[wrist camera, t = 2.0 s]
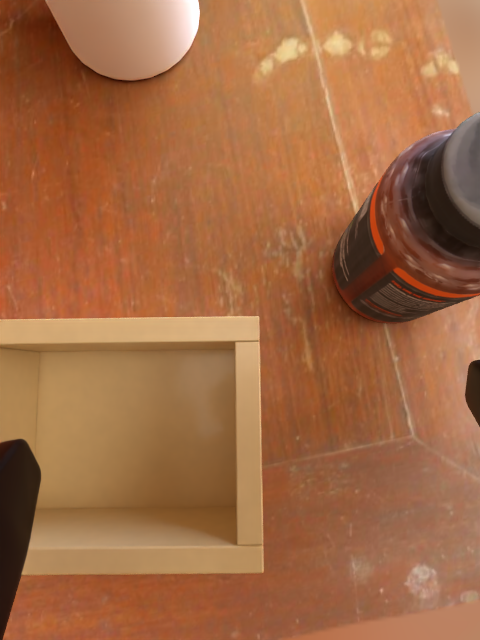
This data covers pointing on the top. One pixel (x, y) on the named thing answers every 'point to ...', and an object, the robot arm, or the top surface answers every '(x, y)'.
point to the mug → (127, 34)
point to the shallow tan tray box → (139, 442)
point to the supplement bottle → (417, 232)
